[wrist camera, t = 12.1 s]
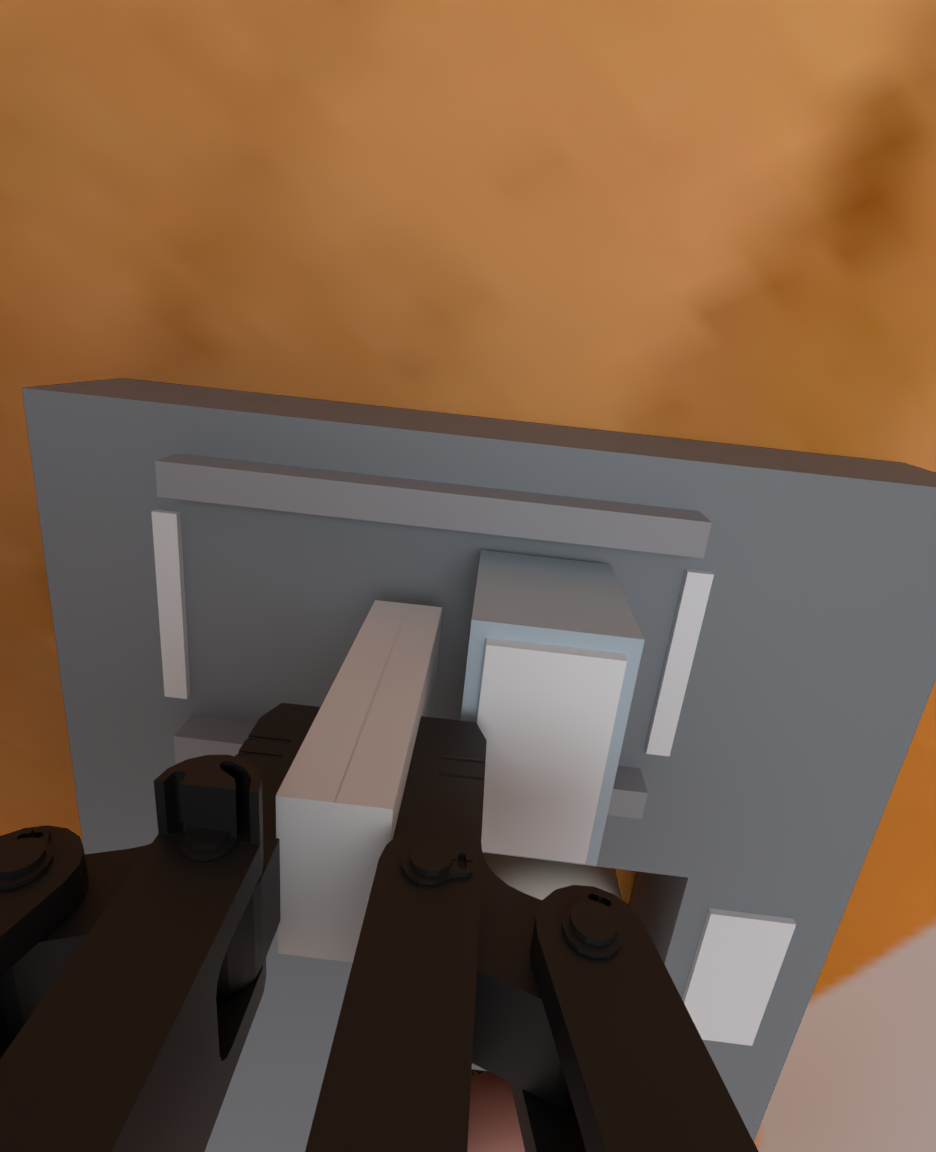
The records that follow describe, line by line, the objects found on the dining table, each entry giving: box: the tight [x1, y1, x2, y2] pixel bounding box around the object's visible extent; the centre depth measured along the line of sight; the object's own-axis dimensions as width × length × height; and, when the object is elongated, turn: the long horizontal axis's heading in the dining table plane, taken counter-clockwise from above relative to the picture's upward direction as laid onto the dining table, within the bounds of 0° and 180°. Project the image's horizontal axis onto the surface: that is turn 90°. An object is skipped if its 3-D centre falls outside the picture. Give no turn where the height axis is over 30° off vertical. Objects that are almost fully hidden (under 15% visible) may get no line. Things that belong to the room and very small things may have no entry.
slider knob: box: [460, 550, 645, 866], centre depth 14 cm, size 3×5×4 cm, turn 174°
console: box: [22, 378, 936, 1152], centre depth 21 cm, size 22×28×5 cm
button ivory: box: [482, 852, 621, 900], centre depth 20 cm, size 5×5×5 cm
